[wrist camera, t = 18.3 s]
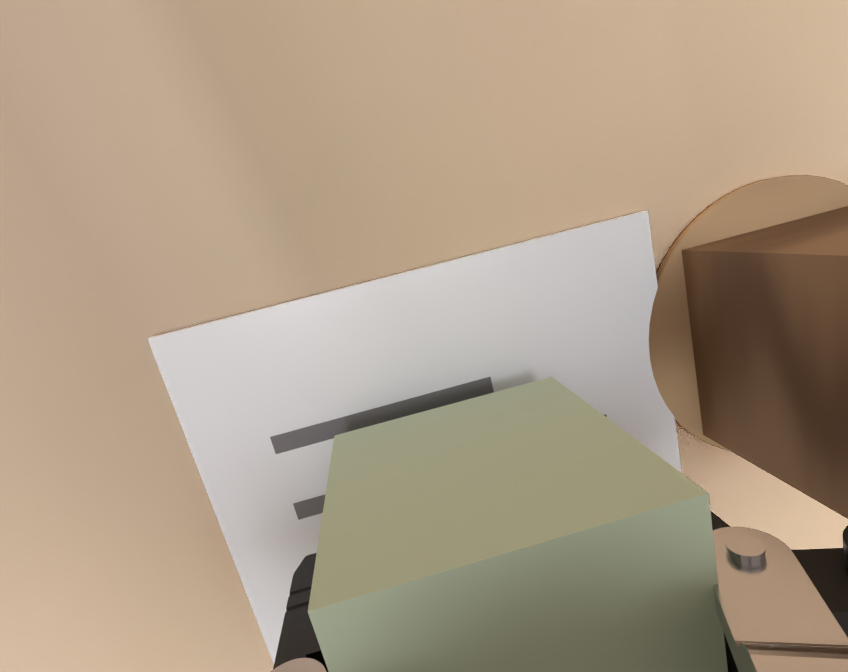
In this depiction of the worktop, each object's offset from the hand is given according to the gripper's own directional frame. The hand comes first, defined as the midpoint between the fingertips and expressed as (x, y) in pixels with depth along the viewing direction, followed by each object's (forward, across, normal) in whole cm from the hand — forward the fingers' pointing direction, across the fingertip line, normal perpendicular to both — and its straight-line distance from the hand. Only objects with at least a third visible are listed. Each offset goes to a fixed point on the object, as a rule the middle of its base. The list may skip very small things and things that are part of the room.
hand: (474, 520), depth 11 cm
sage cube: (+1, 0, 0) cm, 1 cm away
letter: (+2, 0, 0) cm, 2 cm away
